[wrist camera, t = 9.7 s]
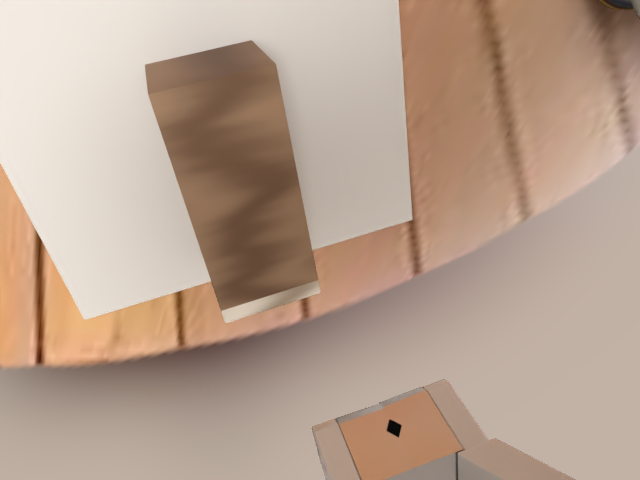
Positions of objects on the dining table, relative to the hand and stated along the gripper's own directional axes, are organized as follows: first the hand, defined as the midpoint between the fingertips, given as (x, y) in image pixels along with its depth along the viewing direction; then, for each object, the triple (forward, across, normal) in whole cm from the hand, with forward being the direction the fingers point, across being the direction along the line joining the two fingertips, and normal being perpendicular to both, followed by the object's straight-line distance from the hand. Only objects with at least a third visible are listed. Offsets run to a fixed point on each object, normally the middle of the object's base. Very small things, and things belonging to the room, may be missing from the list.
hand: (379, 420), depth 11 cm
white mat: (+25, +1, 0) cm, 25 cm away
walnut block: (+21, 0, -3) cm, 21 cm away
